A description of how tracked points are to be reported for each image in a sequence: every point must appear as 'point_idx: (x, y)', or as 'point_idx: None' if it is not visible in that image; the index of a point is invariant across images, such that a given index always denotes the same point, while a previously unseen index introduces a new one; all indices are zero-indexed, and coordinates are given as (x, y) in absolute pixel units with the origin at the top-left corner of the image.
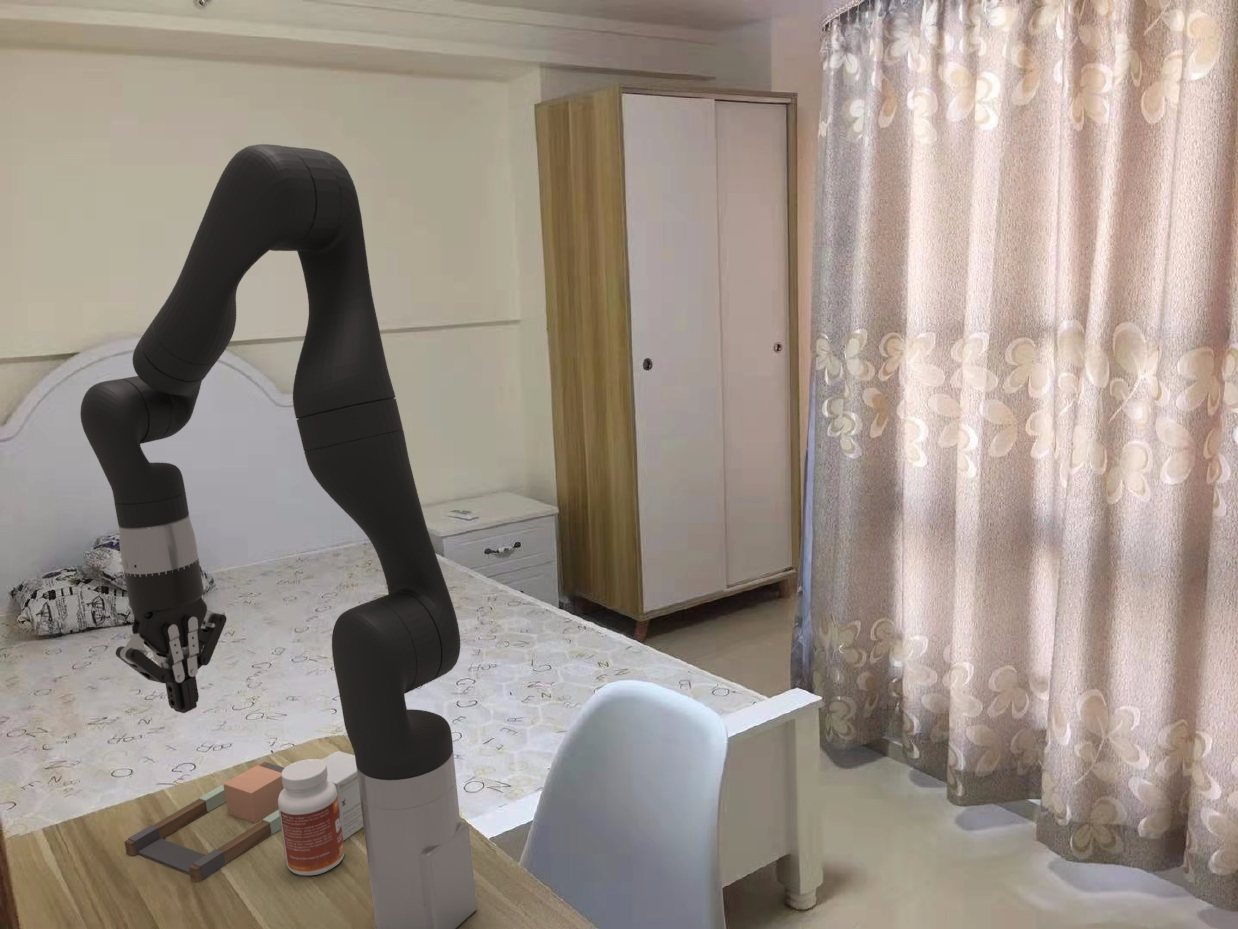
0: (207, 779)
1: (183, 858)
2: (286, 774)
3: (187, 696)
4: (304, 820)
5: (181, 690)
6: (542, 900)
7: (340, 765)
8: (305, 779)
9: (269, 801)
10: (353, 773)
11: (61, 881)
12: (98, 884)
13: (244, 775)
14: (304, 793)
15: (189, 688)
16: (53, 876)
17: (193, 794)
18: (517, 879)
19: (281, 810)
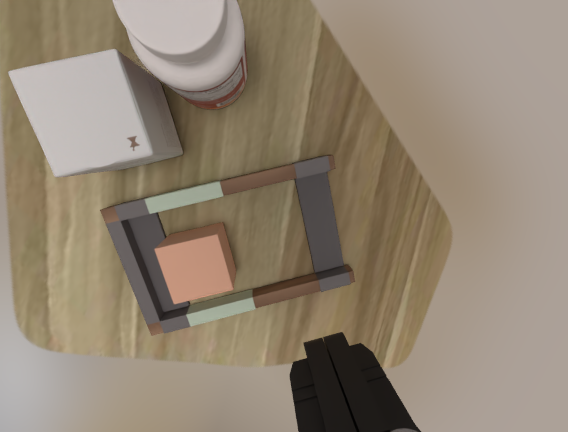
0: (218, 359)
1: (318, 211)
2: (213, 5)
3: (344, 371)
4: None
5: (373, 398)
6: None
7: (74, 108)
8: None
9: (194, 233)
10: (67, 58)
11: (411, 274)
12: (393, 240)
13: (201, 289)
14: None
15: (338, 399)
16: (411, 289)
17: (244, 339)
18: None
19: (244, 35)
